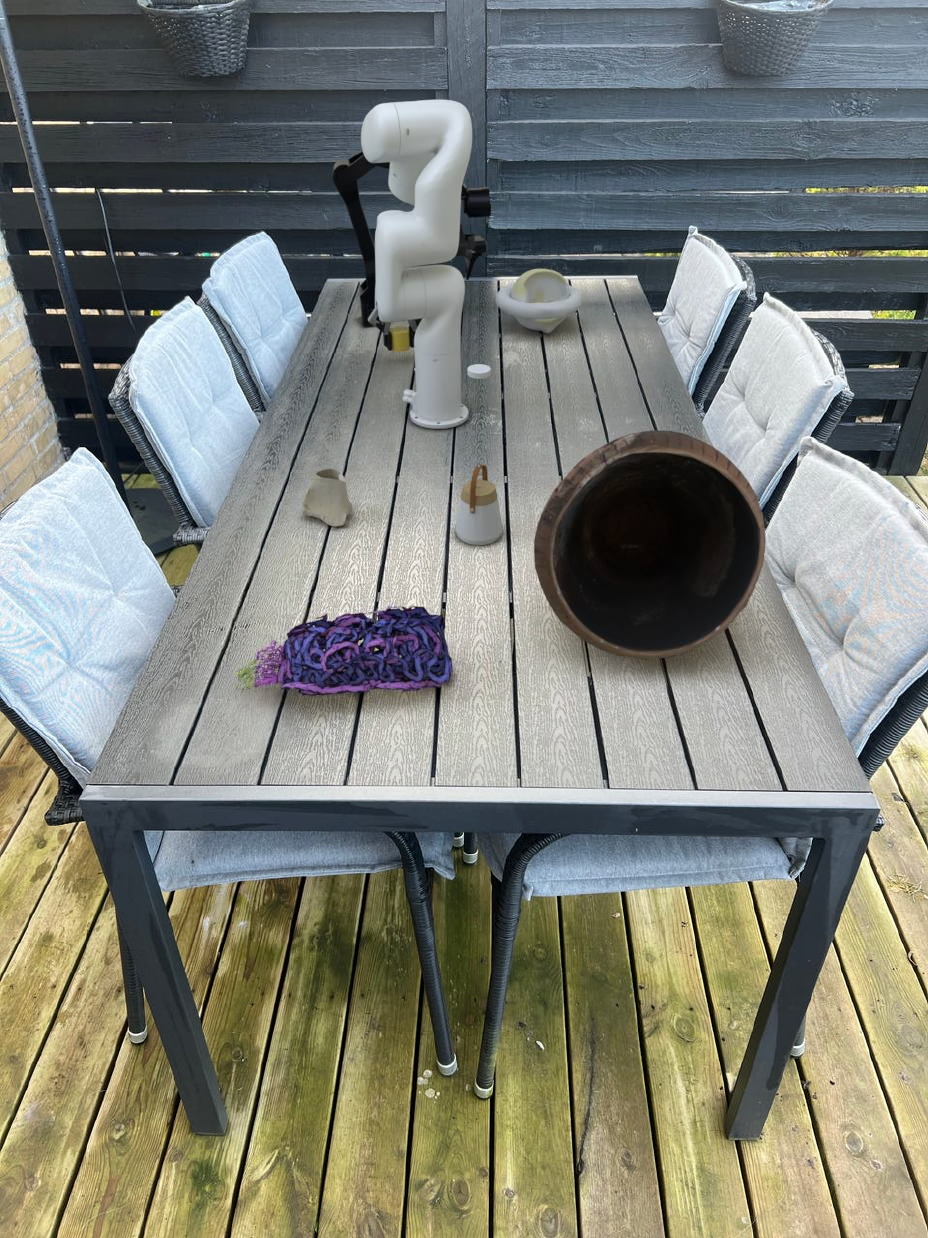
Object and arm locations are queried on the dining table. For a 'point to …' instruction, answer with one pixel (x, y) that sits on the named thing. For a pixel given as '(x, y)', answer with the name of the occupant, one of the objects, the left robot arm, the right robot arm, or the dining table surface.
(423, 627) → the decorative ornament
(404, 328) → the tin
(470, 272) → the left robot arm
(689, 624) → the pot
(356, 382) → the dining table surface
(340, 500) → the beige irregular piece
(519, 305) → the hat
